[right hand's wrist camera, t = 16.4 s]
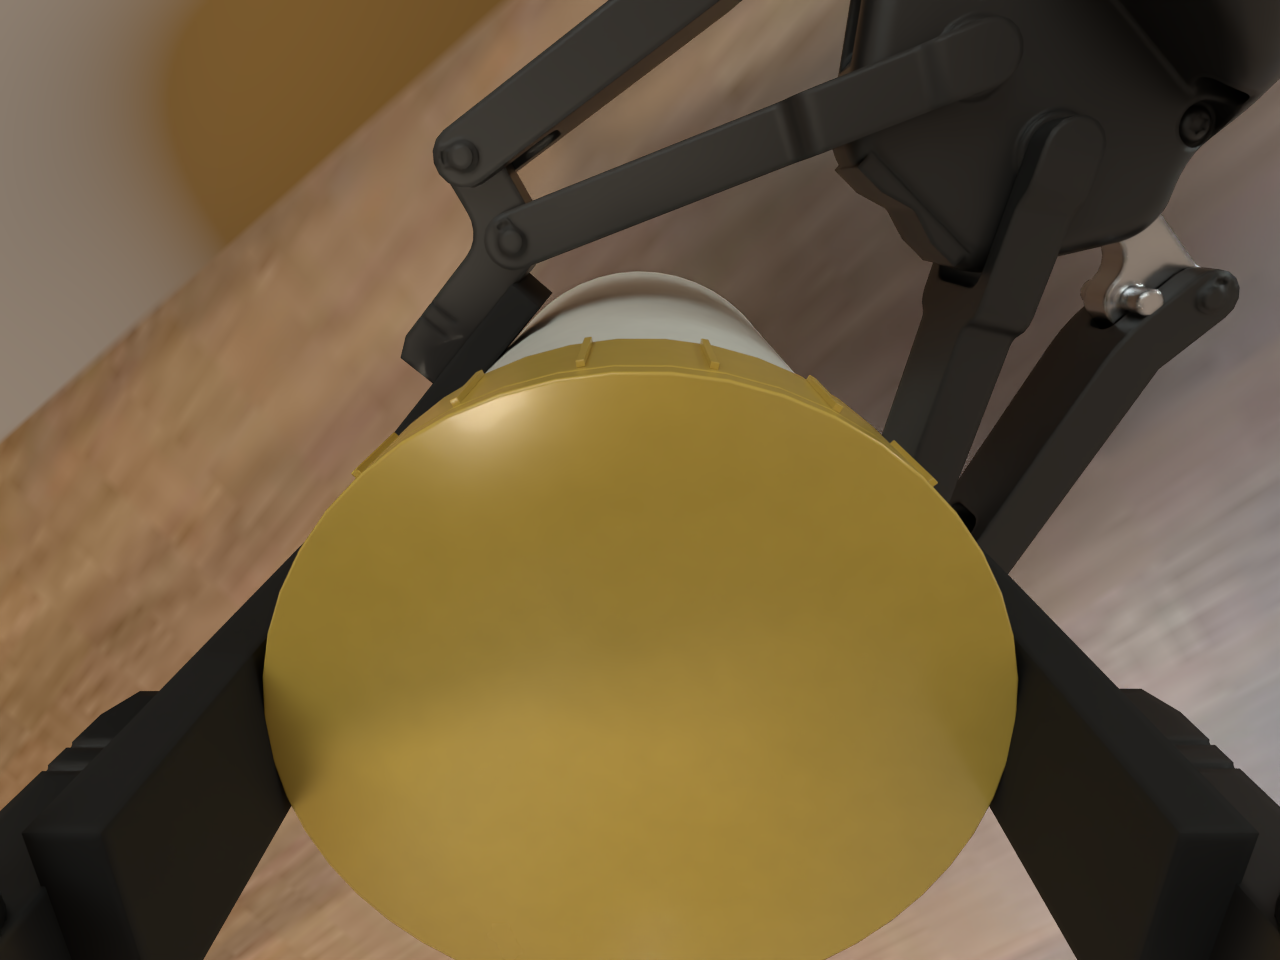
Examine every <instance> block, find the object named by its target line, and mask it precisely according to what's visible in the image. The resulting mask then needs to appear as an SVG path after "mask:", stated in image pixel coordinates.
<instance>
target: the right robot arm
mask: <svg viewBox="0 0 1280 960" xmlns="http://www.w3.org/2000/svg"><path fill="white" fill-rule="evenodd" d="M977 544H978V543H977ZM302 545H303V544H302ZM302 545H301V546H302ZM301 546H300V547H299V548H298V549H297V550H296V551H295V552H294V553H293V554H292V555H291V556H290V557H289V558H288V559H287V560H286V561H285V562H284V564H283V565H282V566H281V567H280V568H279V569H278V570H277V571H276V572H275V573H274V574H273V575H272V576H271V577H270V578H269V579H268V580H267V581H266V582H265V583H264V584H263V585H262V586H261V587H260V588H259V589H258V590H257V591H256V592H255V593H254V594H253V595H252V596H251V597H250V598H249V599H248V600H247V602H246V603H245V604H244V605H243V606H242V607H241V608H240V609H239V610H238V611H237V612H236V613H235V614H234V615H233V616H232V617H231V618H230V619H229V620H228V621H227V622H226V623H225V624H224V625H223V626H222V627H221V628H220V629H219V630H218V631H217V632H216V633H215V634H214V635H213V636H212V637H211V639H210V640H209V641H208V642H207V643H206V644H205V645H204V646H203V647H202V648H201V649H200V650H199V651H198V652H197V653H196V654H195V655H194V656H193V657H192V658H191V659H190V660H189V661H188V662H187V663H186V664H185V665H184V666H183V667H182V668H181V669H180V670H179V671H178V672H177V673H176V674H175V676H174V677H173V678H172V679H171V680H170V681H169V682H168V683H167V684H166V685H165V686H164V687H163V688H162V689H161V690H160V691H140V692H138V693H136V694H135V695H133V696H131V697H129V698H128V699H126V700H124V701H123V702H121V703H119V704H118V705H116V706H114V707H113V708H111V709H109V710H108V711H106V712H104V713H103V714H101V715H100V716H99V717H98V718H97V719H96V720H95V721H94V722H93V723H92V724H91V725H90V726H88V727H87V728H86V729H85V730H84V731H83V732H82V733H81V734H80V735H79V736H78V737H77V738H76V739H75V740H74V741H73V742H72V747H71V748H66V749H65V750H63V751H62V752H61V753H60V754H59V755H58V756H57V757H56V758H55V759H54V760H53V761H52V762H51V763H50V764H49V765H48V770H47V771H42V772H41V773H40V774H38V775H37V776H36V777H35V778H34V779H33V780H32V781H31V782H30V783H29V784H28V785H27V786H26V787H25V788H24V789H23V790H22V791H21V792H20V793H19V794H18V795H17V796H16V797H15V798H13V799H12V800H11V801H10V802H9V803H8V804H7V805H6V806H5V807H4V808H3V809H2V810H1V811H0V960H203V959H204V957H205V956H206V954H207V952H208V950H209V949H210V947H211V945H212V943H213V942H214V940H215V938H216V936H217V935H218V933H219V931H220V929H221V928H222V926H223V924H224V922H225V921H226V919H227V917H228V915H229V914H230V912H231V910H232V908H233V907H234V905H235V903H236V901H237V900H238V898H239V896H240V895H241V893H242V891H243V889H244V888H245V886H246V884H247V882H248V881H249V879H250V877H251V875H252V874H253V872H254V870H255V868H256V867H257V865H258V863H259V861H260V860H261V858H262V856H263V854H264V853H265V851H266V849H267V847H268V846H269V844H270V842H271V840H272V839H273V837H274V835H275V833H276V832H277V830H278V828H279V826H280V825H281V823H282V821H283V819H284V818H285V816H286V814H287V812H288V811H289V809H290V807H291V804H290V802H289V800H288V798H287V796H286V793H285V791H284V788H283V785H282V782H281V780H280V777H279V774H278V771H277V769H276V766H275V763H274V759H273V754H272V749H271V744H270V740H269V735H268V730H267V725H266V720H265V714H264V695H263V669H264V661H265V652H266V644H267V635H268V631H269V627H270V624H271V620H272V617H273V613H274V610H275V606H276V603H277V599H278V596H279V592H280V590H281V587H282V585H283V583H284V581H285V579H286V577H287V575H288V573H289V570H290V568H291V566H292V564H293V561H294V560H295V558H296V556H297V553H298V551H299V549H300V548H301ZM979 547H980V546H979ZM980 548H981V547H980ZM981 550H982V551H983V553H984V555H985V558H986V560H987V562H988V564H989V566H990V568H991V571H992V573H993V575H994V577H995V579H996V581H997V584H998V586H999V588H1000V590H1001V592H1002V595H1003V599H1004V603H1005V606H1006V610H1007V614H1008V617H1009V621H1010V624H1011V628H1012V632H1013V635H1014V644H1015V654H1016V663H1017V672H1018V692H1017V711H1016V717H1015V723H1014V727H1013V732H1012V737H1011V742H1010V747H1009V752H1008V756H1007V761H1006V765H1005V768H1004V771H1003V774H1002V776H1001V779H1000V782H999V784H998V787H997V790H996V792H995V795H994V798H993V800H992V801H991V803H990V805H989V806H990V808H991V810H992V812H993V813H994V815H995V817H996V819H997V820H998V822H999V824H1000V826H1001V827H1002V829H1003V831H1004V833H1005V834H1006V836H1007V838H1008V840H1009V841H1010V843H1011V845H1012V847H1013V848H1014V850H1015V852H1016V854H1017V855H1018V857H1019V859H1020V861H1021V862H1022V864H1023V866H1024V868H1025V869H1026V871H1027V873H1028V874H1029V876H1030V878H1031V880H1032V881H1033V883H1034V885H1035V887H1036V888H1037V890H1038V892H1039V894H1040V895H1041V897H1042V899H1043V901H1044V902H1045V904H1046V906H1047V908H1048V909H1049V911H1050V913H1051V915H1052V916H1053V918H1054V920H1055V922H1056V923H1057V925H1058V927H1059V929H1060V930H1061V932H1062V934H1063V936H1064V937H1065V939H1066V941H1067V943H1068V944H1069V946H1070V948H1071V950H1072V951H1073V953H1074V955H1075V957H1076V958H1077V960H1280V807H1279V806H1278V805H1277V804H1276V803H1275V802H1274V801H1273V800H1272V799H1271V798H1270V797H1269V796H1268V795H1267V794H1266V793H1265V792H1264V791H1263V790H1262V789H1261V788H1260V787H1258V786H1257V785H1256V784H1255V783H1254V782H1253V781H1252V780H1251V779H1250V778H1249V777H1248V776H1247V775H1246V774H1245V773H1244V772H1243V771H1242V770H1241V769H1235V768H1234V765H1233V762H1232V761H1231V760H1230V759H1229V758H1228V757H1227V756H1226V755H1225V754H1224V753H1223V752H1222V751H1221V750H1220V749H1219V748H1218V747H1217V746H1215V745H1210V743H1209V739H1208V738H1207V737H1206V736H1205V735H1204V734H1203V733H1202V732H1201V731H1200V730H1199V729H1198V728H1197V727H1196V726H1194V725H1193V724H1192V723H1191V722H1190V721H1189V720H1188V719H1187V718H1186V717H1185V716H1184V715H1183V714H1182V713H1181V712H1179V711H1178V710H1176V709H1174V708H1173V707H1171V706H1169V705H1168V704H1166V703H1164V702H1163V701H1161V700H1159V699H1158V698H1156V697H1154V696H1152V695H1151V694H1149V693H1147V692H1146V691H1144V690H1142V689H1119V688H1118V687H1117V686H1116V685H1115V684H1114V683H1113V682H1112V681H1111V680H1110V679H1109V678H1108V677H1107V676H1106V675H1105V674H1104V673H1103V672H1102V671H1101V670H1100V669H1099V668H1098V667H1097V666H1096V665H1095V664H1094V663H1093V662H1092V661H1091V660H1090V659H1089V658H1088V656H1087V655H1086V654H1085V653H1084V652H1083V651H1082V650H1081V649H1080V648H1079V647H1078V646H1077V645H1076V644H1075V643H1074V642H1073V641H1072V640H1071V639H1070V638H1069V637H1068V636H1067V635H1066V634H1065V633H1064V632H1063V631H1062V630H1061V629H1060V628H1059V627H1058V626H1057V625H1056V624H1055V623H1054V622H1053V621H1052V620H1051V618H1050V617H1049V616H1048V615H1047V614H1046V613H1045V612H1044V611H1043V610H1042V609H1041V608H1040V607H1039V606H1038V605H1037V604H1036V603H1035V602H1034V601H1033V600H1032V599H1031V598H1030V597H1029V596H1028V595H1027V594H1026V593H1025V592H1024V591H1023V590H1022V589H1021V588H1020V587H1019V586H1018V585H1017V584H1016V583H1015V581H1014V580H1013V579H1012V578H1011V577H1010V576H1009V575H1008V574H1007V573H1006V572H1005V571H1004V570H1003V569H1002V568H1001V567H1000V566H999V565H998V564H997V563H996V562H995V561H994V560H993V559H992V558H991V557H990V556H989V555H988V554H987V553H986V552H985V551H984V550H983V549H982V548H981Z"/></svg>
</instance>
